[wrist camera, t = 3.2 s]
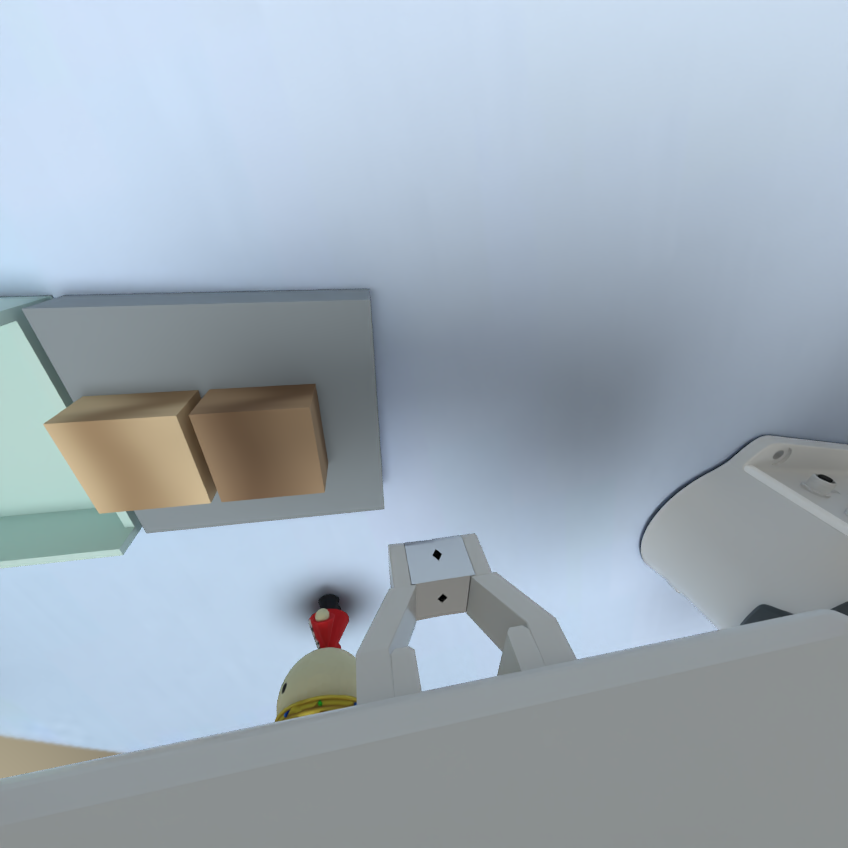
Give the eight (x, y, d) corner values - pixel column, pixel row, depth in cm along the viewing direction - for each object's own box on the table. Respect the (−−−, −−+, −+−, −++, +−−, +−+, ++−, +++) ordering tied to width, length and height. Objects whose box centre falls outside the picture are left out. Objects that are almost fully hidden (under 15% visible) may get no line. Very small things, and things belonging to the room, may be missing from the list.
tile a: (198, 389, 18) (176, 415, 15) (226, 471, 20) (210, 503, 18) (82, 396, 17) (42, 424, 15) (127, 479, 19) (99, 513, 17)
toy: (279, 585, 29) (217, 877, 17) (369, 571, 30) (376, 841, 17) (298, 634, 33) (259, 903, 20) (377, 621, 34) (388, 872, 21)
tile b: (315, 383, 18) (309, 407, 16) (328, 463, 21) (324, 492, 19) (209, 389, 18) (188, 414, 15) (236, 470, 20) (221, 502, 18)
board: (369, 288, 19) (370, 299, 17) (382, 483, 25) (384, 509, 23) (64, 295, 17) (21, 308, 15) (165, 503, 24) (146, 533, 21)
